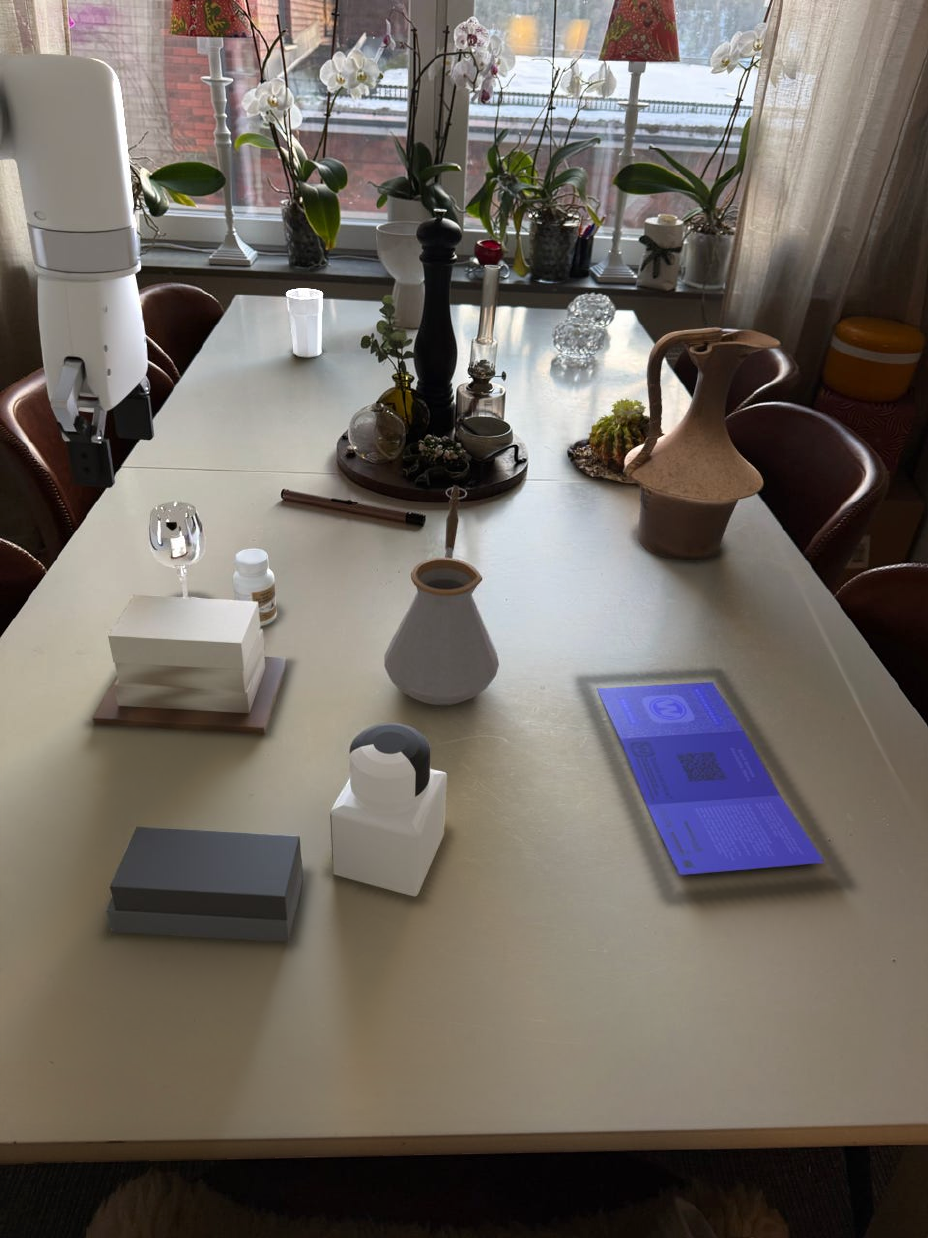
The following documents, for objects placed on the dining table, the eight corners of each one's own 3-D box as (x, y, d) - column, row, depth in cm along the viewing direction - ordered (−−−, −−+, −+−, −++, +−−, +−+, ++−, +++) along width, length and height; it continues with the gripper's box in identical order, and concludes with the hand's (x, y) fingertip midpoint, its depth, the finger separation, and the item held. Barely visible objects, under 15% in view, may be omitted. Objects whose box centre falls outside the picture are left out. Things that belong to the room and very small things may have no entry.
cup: (309, 360, 174) (306, 300, 168) (282, 353, 177) (278, 293, 171) (332, 352, 179) (330, 293, 173) (305, 344, 182) (302, 286, 176)
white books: (93, 726, 87) (82, 674, 84) (132, 656, 96) (123, 607, 93) (265, 736, 87) (260, 685, 84) (287, 665, 96) (283, 617, 93)
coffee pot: (495, 723, 90) (506, 591, 82) (376, 714, 90) (375, 582, 82) (501, 604, 108) (510, 485, 100) (402, 597, 108) (403, 478, 100)
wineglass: (194, 627, 101) (181, 529, 95) (149, 615, 103) (133, 517, 96) (223, 600, 106) (212, 505, 99) (180, 589, 107) (166, 495, 101)
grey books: (111, 933, 68) (100, 887, 66) (138, 869, 73) (128, 824, 71) (288, 943, 68) (284, 898, 66) (303, 879, 73) (300, 834, 71)
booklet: (712, 682, 97) (713, 676, 97) (822, 868, 77) (825, 862, 76) (596, 688, 95) (597, 683, 95) (678, 881, 75) (679, 875, 74)
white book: (113, 662, 86) (107, 635, 84) (137, 620, 91) (133, 594, 90) (244, 670, 86) (241, 643, 84) (260, 627, 91) (258, 601, 90)
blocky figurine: (365, 813, 80) (363, 703, 73) (445, 834, 78) (450, 723, 71) (331, 876, 74) (326, 762, 67) (417, 899, 72) (420, 786, 66)
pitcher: (636, 580, 114) (675, 352, 98) (592, 515, 128) (620, 306, 112) (768, 570, 117) (826, 348, 102) (711, 508, 131) (755, 304, 115)
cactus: (549, 445, 147) (555, 384, 141) (640, 436, 151) (649, 378, 146) (595, 492, 133) (604, 428, 128) (693, 482, 138) (706, 419, 132)
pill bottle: (265, 631, 101) (259, 570, 97) (229, 623, 102) (222, 561, 98) (284, 611, 105) (280, 550, 100) (249, 602, 106) (243, 542, 101)
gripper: (80, 221, 77) (109, 418, 86) (-20, 271, 63) (27, 502, 72) (171, 229, 77) (190, 425, 86) (92, 281, 63) (125, 510, 72)
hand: (116, 460), depth 79 cm, fingers open, 9 cm apart
